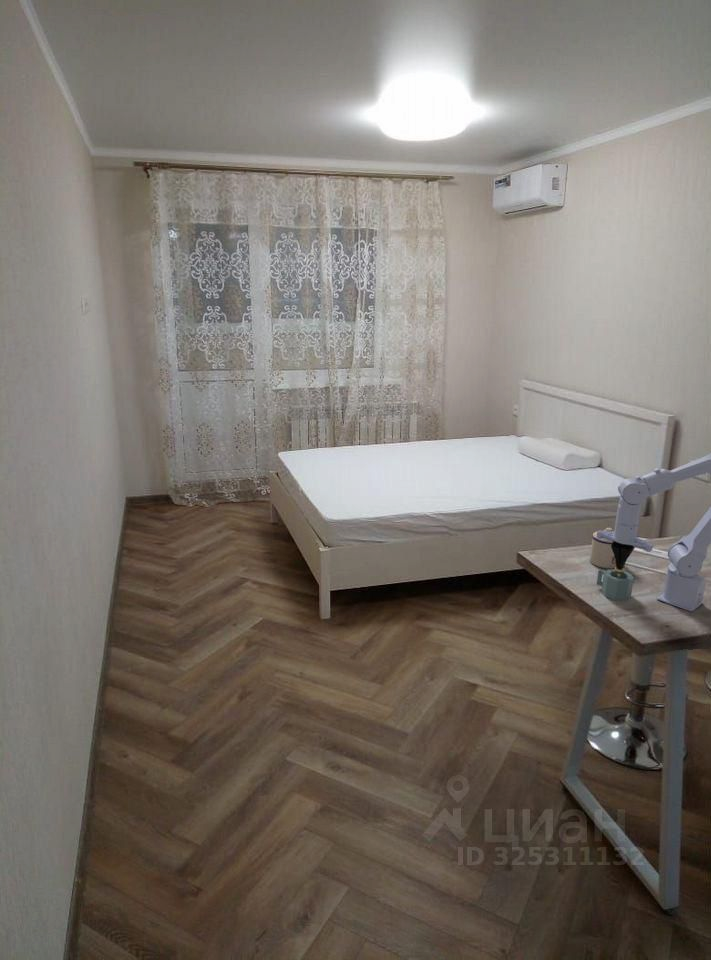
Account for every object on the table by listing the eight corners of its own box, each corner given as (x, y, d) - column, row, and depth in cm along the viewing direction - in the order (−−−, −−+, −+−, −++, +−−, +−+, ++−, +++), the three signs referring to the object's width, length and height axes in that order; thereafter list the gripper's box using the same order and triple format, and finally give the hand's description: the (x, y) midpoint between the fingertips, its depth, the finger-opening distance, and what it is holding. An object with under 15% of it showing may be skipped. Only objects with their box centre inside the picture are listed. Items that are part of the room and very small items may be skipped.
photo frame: (681, 554, 208) (669, 573, 194) (680, 557, 208) (669, 576, 194) (634, 543, 216) (619, 560, 202) (633, 546, 216) (619, 563, 202)
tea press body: (634, 595, 181) (637, 575, 179) (622, 602, 176) (625, 583, 174) (602, 583, 187) (605, 565, 185) (590, 591, 182) (593, 571, 181)
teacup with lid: (616, 571, 196) (622, 536, 192) (586, 564, 200) (590, 530, 197) (622, 558, 206) (628, 524, 202) (593, 552, 210) (598, 518, 207)
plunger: (626, 586, 180) (629, 568, 178) (620, 589, 178) (623, 572, 176) (614, 581, 183) (616, 564, 181) (608, 585, 180) (610, 567, 179)
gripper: (659, 525, 173) (651, 571, 177) (605, 512, 182) (599, 556, 186) (651, 532, 168) (643, 579, 172) (596, 518, 177) (590, 563, 181)
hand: (619, 568), depth 179 cm, fingers closed, pressing on plunger
